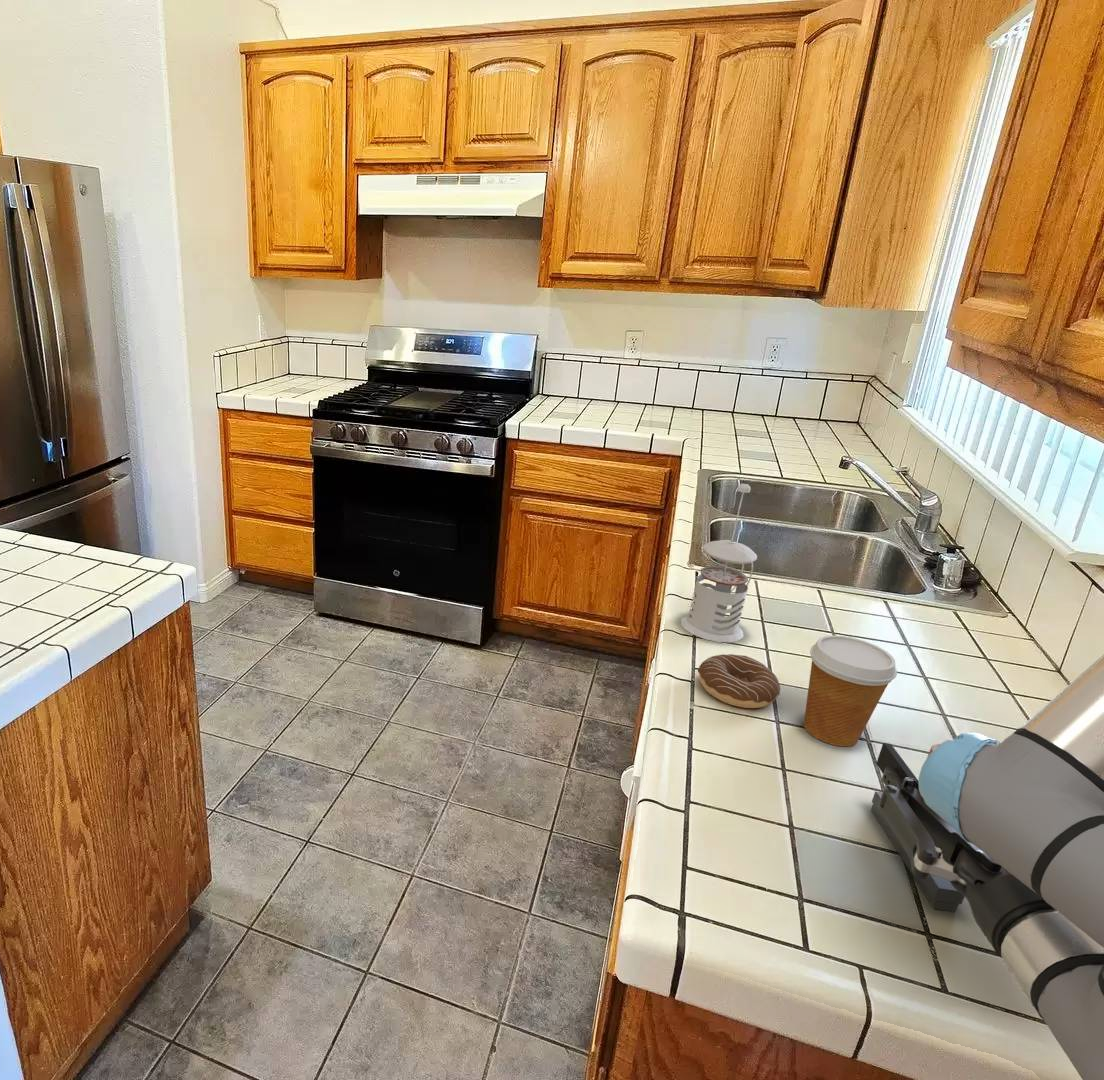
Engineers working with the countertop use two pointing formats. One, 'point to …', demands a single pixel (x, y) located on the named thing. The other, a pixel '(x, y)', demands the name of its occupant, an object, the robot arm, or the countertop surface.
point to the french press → (721, 590)
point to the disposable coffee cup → (845, 687)
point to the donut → (739, 680)
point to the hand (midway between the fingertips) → (910, 757)
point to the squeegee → (933, 887)
